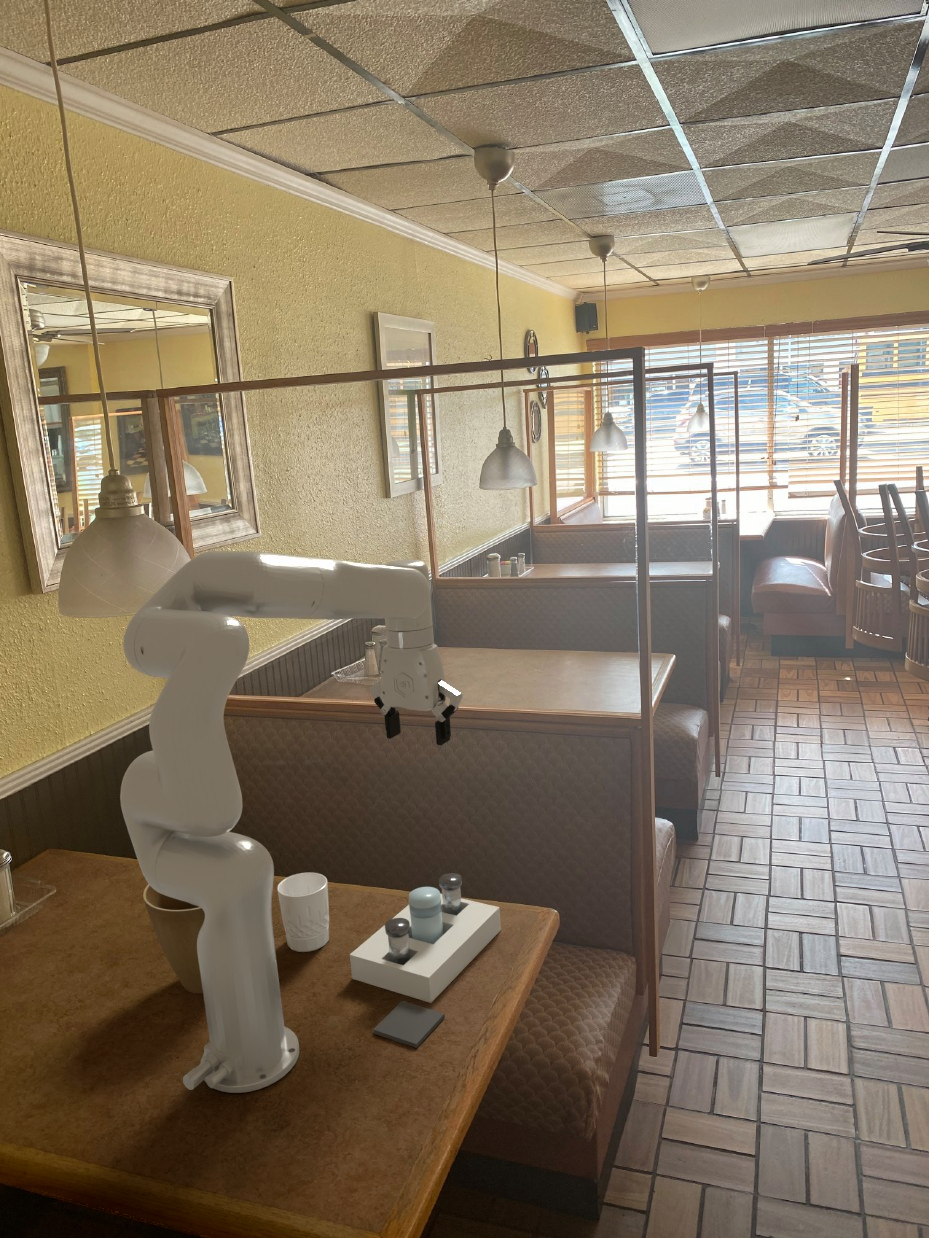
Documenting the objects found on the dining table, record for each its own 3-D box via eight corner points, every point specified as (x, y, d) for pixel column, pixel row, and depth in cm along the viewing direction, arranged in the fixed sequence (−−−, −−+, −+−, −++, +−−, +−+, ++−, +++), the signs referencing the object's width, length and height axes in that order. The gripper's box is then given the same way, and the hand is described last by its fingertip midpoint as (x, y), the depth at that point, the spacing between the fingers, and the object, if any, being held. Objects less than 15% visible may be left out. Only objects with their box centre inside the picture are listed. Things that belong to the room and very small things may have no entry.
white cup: (338, 927, 152) (332, 871, 150) (326, 954, 144) (320, 896, 142) (291, 927, 153) (285, 872, 151) (277, 954, 145) (270, 896, 143)
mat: (416, 1047, 121) (416, 1043, 121) (373, 1033, 124) (373, 1029, 124) (444, 1017, 127) (444, 1013, 126) (402, 1004, 130) (402, 1000, 130)
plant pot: (136, 996, 136) (120, 897, 133) (206, 944, 149) (194, 853, 146) (211, 1020, 129) (197, 917, 126) (278, 964, 142) (267, 869, 139)
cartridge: (434, 965, 139) (429, 905, 137) (407, 957, 142) (402, 898, 140) (450, 949, 143) (446, 890, 141) (424, 941, 146) (419, 884, 144)
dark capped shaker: (456, 920, 146) (454, 885, 144) (437, 915, 147) (434, 881, 146) (468, 909, 149) (465, 875, 147) (449, 905, 150) (446, 871, 149)
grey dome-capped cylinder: (403, 970, 133) (400, 932, 132) (383, 964, 135) (379, 927, 134) (417, 957, 136) (414, 920, 135) (397, 952, 138) (394, 915, 137)
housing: (431, 1002, 130) (428, 977, 129) (352, 978, 137) (349, 954, 136) (500, 929, 148) (499, 907, 147) (427, 911, 155) (426, 889, 154)
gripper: (352, 640, 148) (362, 740, 152) (444, 646, 139) (451, 753, 143) (379, 629, 154) (388, 726, 158) (468, 635, 146) (475, 737, 149)
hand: (418, 739), depth 150 cm, fingers open, 9 cm apart
